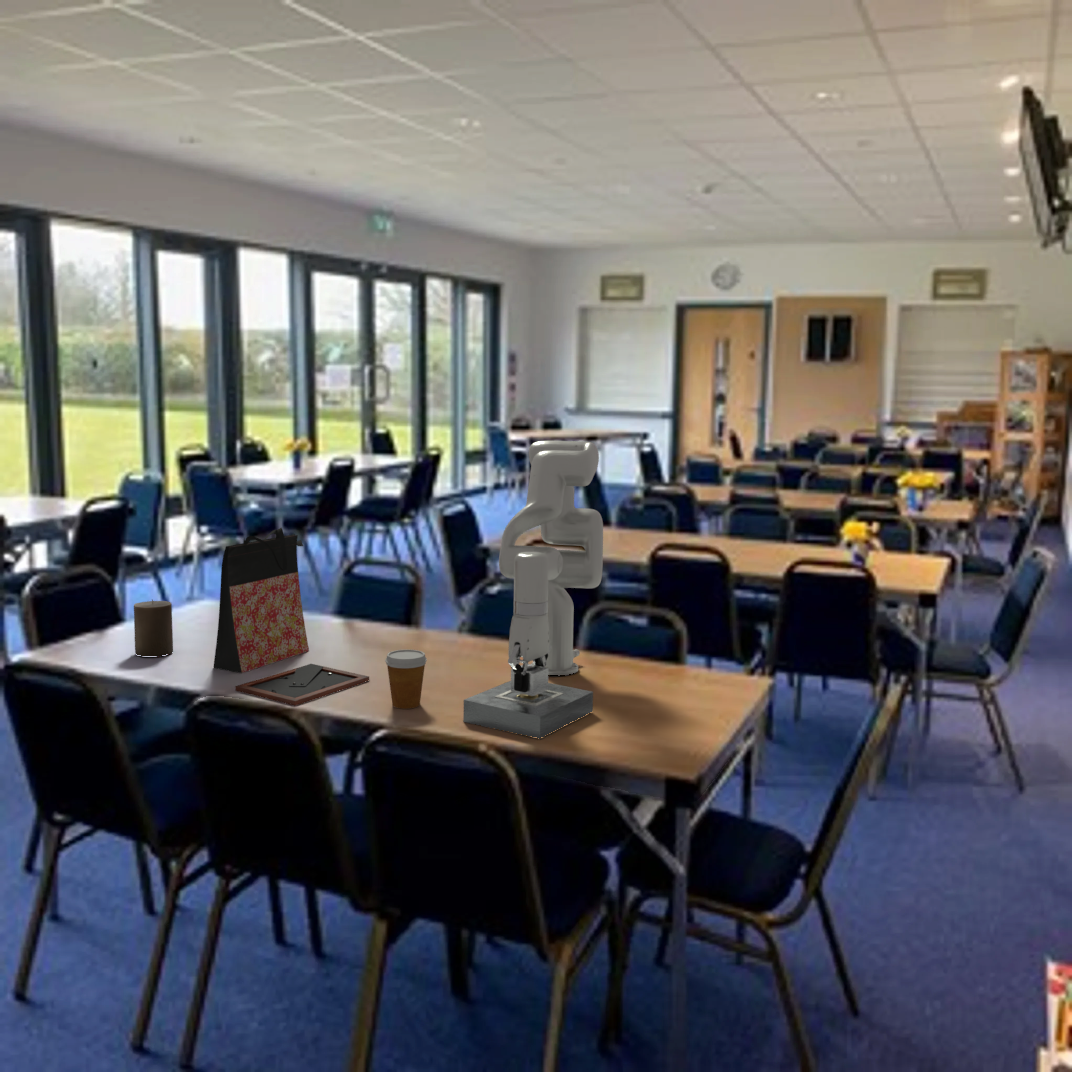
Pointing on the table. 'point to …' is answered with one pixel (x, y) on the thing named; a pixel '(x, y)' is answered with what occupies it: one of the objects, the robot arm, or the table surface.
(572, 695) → the block
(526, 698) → the brass pin
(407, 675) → the disposable coffee cup
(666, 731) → the table surface
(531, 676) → the block
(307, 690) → the picture frame
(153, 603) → the pillar candle
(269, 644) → the gift bag
